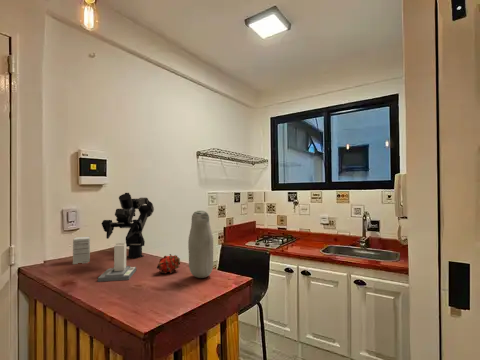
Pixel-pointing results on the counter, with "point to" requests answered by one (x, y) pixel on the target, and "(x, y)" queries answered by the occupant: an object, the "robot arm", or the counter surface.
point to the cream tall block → (119, 257)
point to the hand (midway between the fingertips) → (117, 238)
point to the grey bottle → (200, 245)
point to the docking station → (117, 274)
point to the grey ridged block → (81, 250)
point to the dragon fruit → (168, 264)
